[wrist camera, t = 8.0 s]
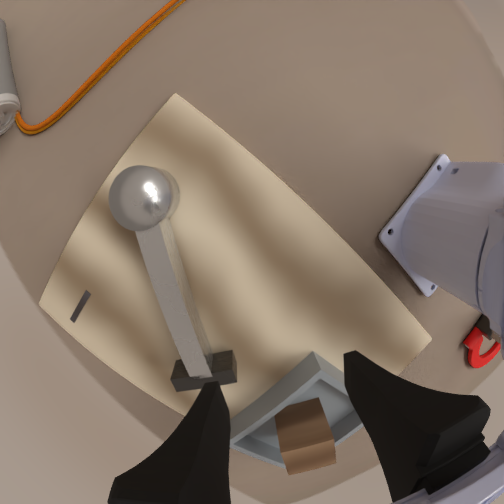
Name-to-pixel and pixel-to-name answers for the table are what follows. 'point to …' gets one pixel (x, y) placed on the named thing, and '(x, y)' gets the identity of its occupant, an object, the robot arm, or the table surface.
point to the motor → (8, 106)
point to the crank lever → (168, 272)
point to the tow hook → (476, 339)
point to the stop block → (305, 437)
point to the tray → (287, 393)
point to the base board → (224, 273)
